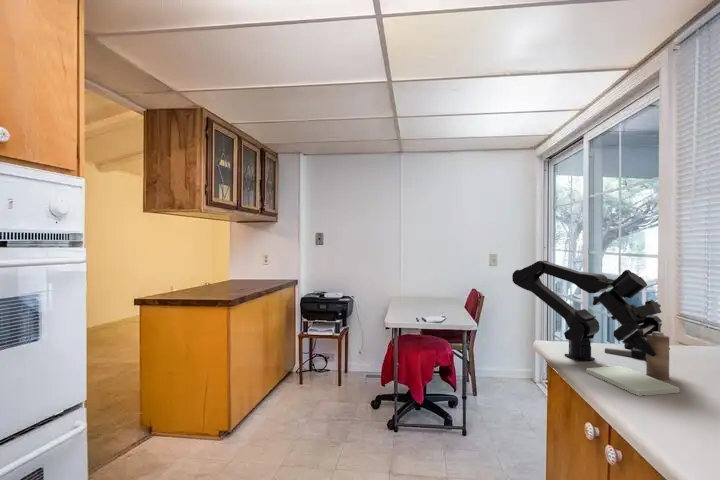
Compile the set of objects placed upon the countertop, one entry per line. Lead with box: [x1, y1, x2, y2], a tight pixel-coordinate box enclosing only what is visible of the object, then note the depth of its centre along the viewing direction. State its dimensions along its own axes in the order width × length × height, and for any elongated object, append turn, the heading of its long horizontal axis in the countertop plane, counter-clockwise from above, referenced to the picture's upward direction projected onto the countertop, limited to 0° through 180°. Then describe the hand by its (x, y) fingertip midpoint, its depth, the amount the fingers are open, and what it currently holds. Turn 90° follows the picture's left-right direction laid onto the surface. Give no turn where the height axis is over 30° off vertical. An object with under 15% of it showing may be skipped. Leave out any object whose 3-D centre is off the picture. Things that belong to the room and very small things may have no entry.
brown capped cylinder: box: [645, 331, 670, 381], centre depth 116 cm, size 5×5×12 cm
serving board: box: [585, 365, 680, 397], centre depth 112 cm, size 18×12×1 cm, turn 10°
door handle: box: [604, 343, 646, 363], centre depth 138 cm, size 3×20×16 cm
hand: (661, 352), depth 115 cm, fingers open, 9 cm apart
